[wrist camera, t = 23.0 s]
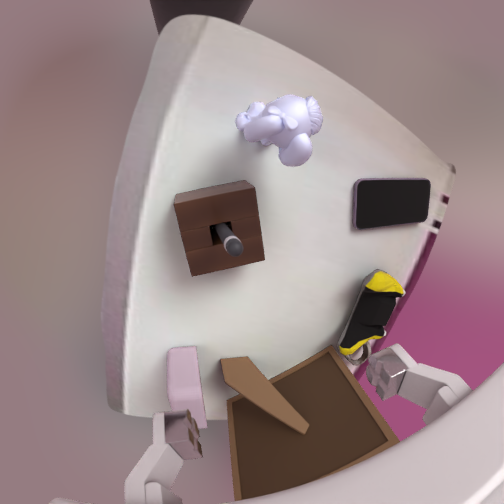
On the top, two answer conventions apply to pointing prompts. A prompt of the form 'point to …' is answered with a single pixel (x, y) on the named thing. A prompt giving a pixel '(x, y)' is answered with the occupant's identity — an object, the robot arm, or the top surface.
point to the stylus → (229, 240)
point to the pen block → (214, 212)
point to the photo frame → (298, 424)
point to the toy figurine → (283, 126)
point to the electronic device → (185, 383)
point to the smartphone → (390, 202)
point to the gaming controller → (370, 311)
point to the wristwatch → (364, 356)
